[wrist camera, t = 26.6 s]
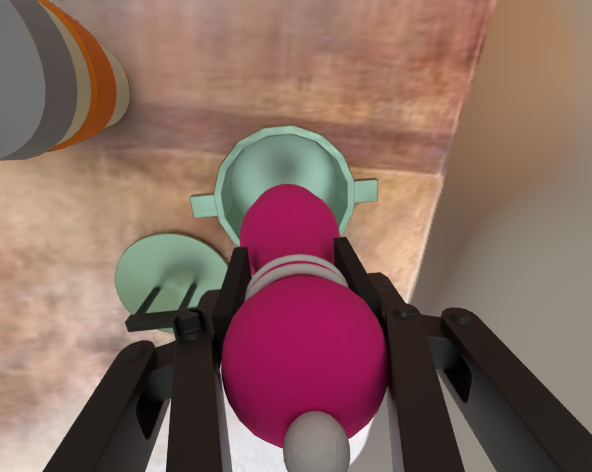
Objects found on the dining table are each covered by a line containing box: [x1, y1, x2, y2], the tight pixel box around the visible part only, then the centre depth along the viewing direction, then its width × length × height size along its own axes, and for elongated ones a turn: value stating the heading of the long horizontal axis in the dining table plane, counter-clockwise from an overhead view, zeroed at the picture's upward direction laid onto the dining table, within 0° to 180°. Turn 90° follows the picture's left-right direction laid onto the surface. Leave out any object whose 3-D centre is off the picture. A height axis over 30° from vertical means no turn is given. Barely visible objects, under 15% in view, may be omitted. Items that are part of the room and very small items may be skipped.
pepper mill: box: [221, 184, 389, 472], centre depth 16 cm, size 7×7×20 cm
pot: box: [190, 124, 378, 247], centre depth 34 cm, size 15×20×6 cm
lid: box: [115, 233, 228, 333], centre depth 37 cm, size 16×16×9 cm
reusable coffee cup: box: [0, 0, 130, 161], centre depth 25 cm, size 13×13×15 cm
